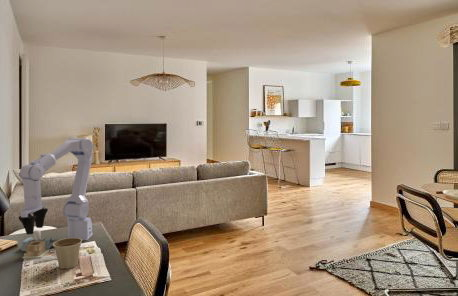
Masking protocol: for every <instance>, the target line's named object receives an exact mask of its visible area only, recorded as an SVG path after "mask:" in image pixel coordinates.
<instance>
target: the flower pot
mask: <svg viewBox="0 0 458 296" xmlns="http://www.w3.org/2000/svg"><path fill="white" fill-rule="evenodd" d="M82 242H83V240H82V239H80V238H68V237H67V238H61V239H58V241H56V242H54V243H53V246H52V247H53V249H54V250H55V252H56V258H57V263H58V268H59V269H62V270H65V269H67V270H69V269H72V268H75V267H77V266H78V265H79V259H80V250H81V249H80V248H81V245H82Z"/></svg>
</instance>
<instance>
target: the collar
mask: <svg viewBox="0 0 458 296" xmlns="http://www.w3.org/2000/svg"><path fill="white" fill-rule="evenodd" d="M25 248H26V251H25V255H26V256H40V255H41V254H43V253H44V252H45V251H46V249H45V241H34V242H31V243H29V244H28V245H26V246H25Z"/></svg>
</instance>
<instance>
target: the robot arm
mask: <svg viewBox="0 0 458 296" xmlns="http://www.w3.org/2000/svg"><path fill="white" fill-rule="evenodd" d="M93 149H94V143H93V141H92V140H91V139H90V138H89V137H69V138H68V139H66V140H65V141H63V143H62V144H61V145H59V146H58V147H57V148H56V149H54V150H53V151H52V152H50V153H48V152H47V153H41V154H40V156H39V157H38V158H37V159H35V160H31V162H30V164H23V166H21V167H20V170H19V171H18V177H19V178H20V179H21V183H22V185H23V187H22V188H23V200H24V201H23V202H24V206H23V207H22V208H21V210H22V211H21V212H20V216H19V215H18V220H19V221H20V222H21V224H22V226H23V228H24V231H25V233H26V235H34V231H35V228H36V229H43V227H44V223H45V219H46V215H47V212H48V211H49V209H48V208H47V207H46V202H42V200H43V199H42V189H41V187H42V185H41V179H42V178H43V176H44V175H45V172H47V171H49V170H50V169H51V168H52V167H54V166H56V163H57V160H59V159H60V158H62V157H64V156H66V155H67V154H69V153H70V154H72V155H73V156H74V157H75V158H76V159H77V160H78V161H77V167H76V171H75V176H74V181H73V185H72V192H71V195H70V196H69V197H67V198H66V201H65V204H64V205H63V207H62V214H63V215H64V217H65V219H66V220H67V236H68V237H67V238H80V239H82V241H88V240H89V239H90V238H91V237H92V236H93V235H94V234H93V222H92V218H91V217H87V216H88V215H89V212H90V207H89V203H90V202H89V200H88V199H87V197H86V194H87V193H86V191H87V188H88V181H89V178H90V172H91V166H92V162H93ZM35 226H36V227H35Z"/></svg>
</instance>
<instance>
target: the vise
mask: <svg viewBox="0 0 458 296" xmlns="http://www.w3.org/2000/svg"><path fill="white" fill-rule="evenodd" d="M41 233H42V232H41V229H36V230H35V229H34V232H33V237H27V238H26V239H24V240H22V246H21V247H20V251H21V252H26V248H25V246H26V245H28V244H29V243H31V242H34V241H45V249H46V250H50V249H51V248H52V247H54V246H53V243H54V242H56V241H58V240H59V239H53V236H48V237H42V234H41Z"/></svg>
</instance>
